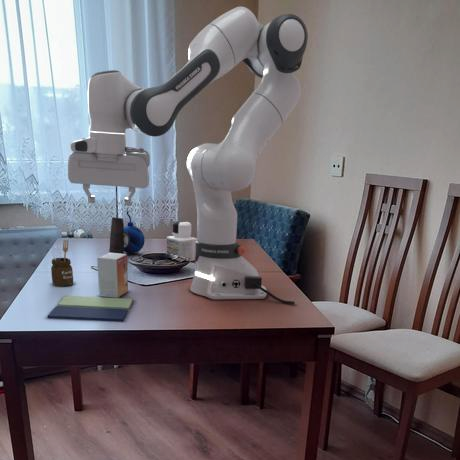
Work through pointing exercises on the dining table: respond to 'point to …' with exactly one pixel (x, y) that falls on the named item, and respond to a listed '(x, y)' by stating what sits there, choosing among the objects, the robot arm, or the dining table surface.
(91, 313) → the slate mat
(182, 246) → the container
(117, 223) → the butter churn
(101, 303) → the sage mat
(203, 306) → the dining table surface
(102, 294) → the small box
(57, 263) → the utensil holder
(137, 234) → the bomb
